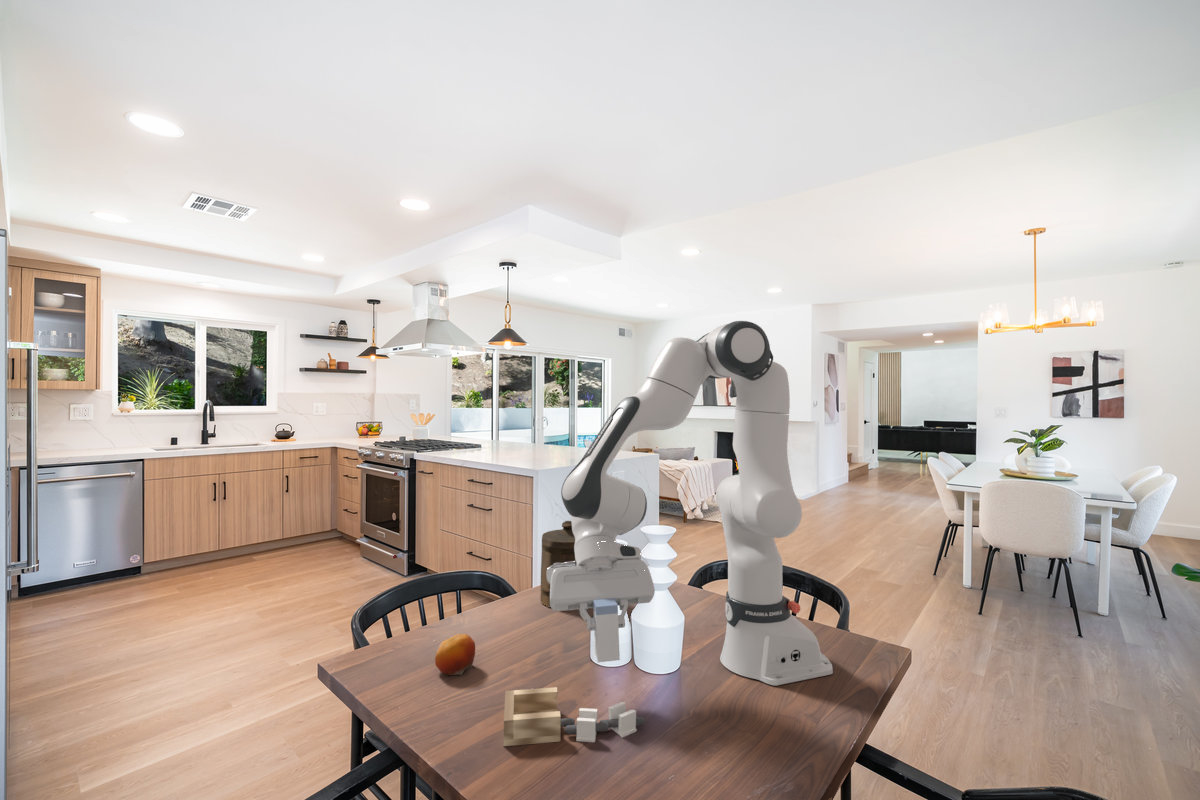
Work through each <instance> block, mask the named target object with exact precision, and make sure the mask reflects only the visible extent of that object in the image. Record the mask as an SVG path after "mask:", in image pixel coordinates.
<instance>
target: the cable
mask: <svg viewBox="0 0 1200 800" xmlns="http://www.w3.org/2000/svg"><path fill="white" fill-rule="evenodd" d="M645 723H646V719H645V717H644V716H636V726H643V725H645ZM612 727H619V719H609V718H608V719H601V720H599V722H597V723H596V732H606V731H609V729H611V728H612ZM560 728H564V732H565V733H566V734H567V735H572V734H577V724H576V719H574V718H573V717H567V718H566V717H565V718H561V721H560Z"/></svg>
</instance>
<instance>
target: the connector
mask: <svg viewBox="0 0 1200 800" xmlns="http://www.w3.org/2000/svg"><path fill="white" fill-rule="evenodd" d="M592 609H593V618H595V623H596V630H593V633H594V653H595V654H594V655H595V656H596V661H597V663H604V662H613V661H615V662H616V661H620V660H621V659H620V658H621V657H620V656H621V655H620V635H619V634H620V631H619V629H620V628H619V627H618V615H619V610H618V609H619V605H617V603H616V600H615V598H608V599H597V600H593V608H592Z"/></svg>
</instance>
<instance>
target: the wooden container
mask: <svg viewBox="0 0 1200 800" xmlns="http://www.w3.org/2000/svg"><path fill="white" fill-rule="evenodd" d="M561 527H562V529H555V530H554V529H553V530H548V531H546V532H544V533H542V536H541V557H540V558H541V560H540V561H541V562H540V602H542V603H541V604H542V605H543V604H544V605H543V606H545V605H546V606H545V607H547V606H549V607H548V608H550V584H549V583H548V582H547V577H546V571H547V569H548V568H549V567H550V566H552V565H553V564H554V563H564V562H571V561H575V551H574V544H575V537H574V534H573V531H572V522H571V520H565V521H563V522H562V524H561ZM552 568H554V567H552Z"/></svg>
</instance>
